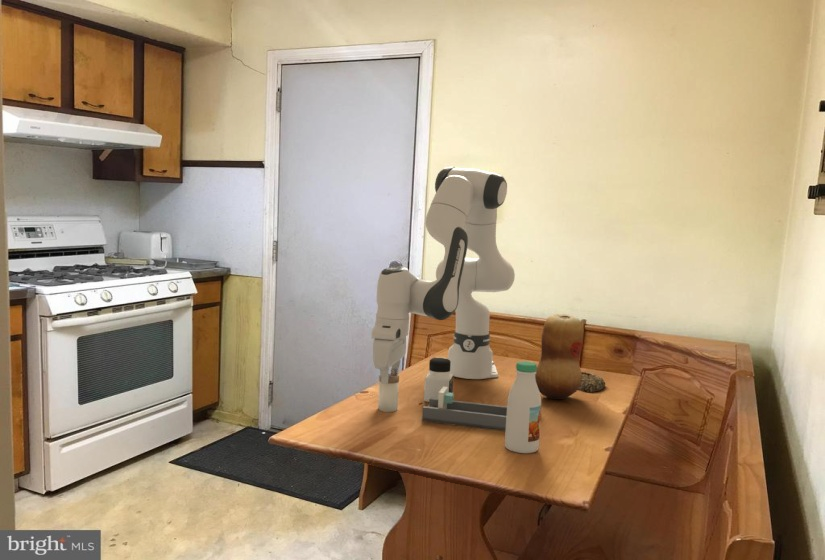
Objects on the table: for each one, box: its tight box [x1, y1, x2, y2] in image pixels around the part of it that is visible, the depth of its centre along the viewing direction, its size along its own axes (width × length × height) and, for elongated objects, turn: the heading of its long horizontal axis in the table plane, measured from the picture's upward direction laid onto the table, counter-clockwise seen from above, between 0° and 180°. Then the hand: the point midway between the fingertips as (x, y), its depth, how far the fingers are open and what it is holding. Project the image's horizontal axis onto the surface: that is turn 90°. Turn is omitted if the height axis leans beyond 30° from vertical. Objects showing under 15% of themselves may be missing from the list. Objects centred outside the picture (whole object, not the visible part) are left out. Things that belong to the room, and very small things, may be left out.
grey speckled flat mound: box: [577, 371, 606, 393], centre depth 206 cm, size 13×12×5 cm
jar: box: [377, 373, 400, 413], centre depth 173 cm, size 5×5×9 cm
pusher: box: [438, 387, 455, 409], centre depth 167 cm, size 6×3×6 cm, turn 166°
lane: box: [421, 398, 507, 432], centre depth 165 cm, size 9×24×8 cm, turn 76°
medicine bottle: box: [423, 356, 454, 403], centre depth 183 cm, size 7×7×12 cm
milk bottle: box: [504, 360, 542, 454], centre depth 147 cm, size 8×8×20 cm
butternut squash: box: [535, 313, 585, 400], centre depth 189 cm, size 14×13×25 cm
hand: (389, 379), depth 172 cm, fingers open, 8 cm apart
